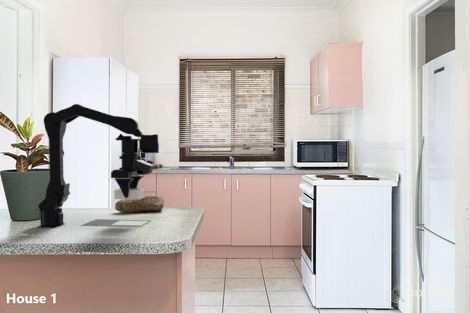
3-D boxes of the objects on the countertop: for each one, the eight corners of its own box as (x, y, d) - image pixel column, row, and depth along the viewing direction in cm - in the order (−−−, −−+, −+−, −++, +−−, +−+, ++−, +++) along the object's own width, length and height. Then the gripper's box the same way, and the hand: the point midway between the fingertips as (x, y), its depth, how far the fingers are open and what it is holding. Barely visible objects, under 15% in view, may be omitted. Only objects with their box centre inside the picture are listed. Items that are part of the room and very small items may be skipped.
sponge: (161, 211, 175) (116, 203, 171) (164, 195, 174) (119, 187, 169) (160, 222, 162) (112, 214, 158) (164, 204, 161) (116, 196, 157)
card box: (138, 199, 135) (138, 190, 135) (114, 198, 136) (114, 189, 136) (144, 197, 141) (144, 188, 141) (121, 196, 142) (121, 187, 142)
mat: (79, 226, 134) (79, 225, 134) (96, 220, 146) (96, 218, 146) (140, 228, 132) (140, 226, 132) (152, 221, 144) (152, 220, 144)
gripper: (141, 153, 128) (142, 200, 128) (159, 152, 146) (159, 193, 146) (110, 153, 129) (110, 199, 129) (131, 152, 147) (131, 193, 148)
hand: (129, 196), depth 138 cm, fingers closed on card box, 6 cm apart
